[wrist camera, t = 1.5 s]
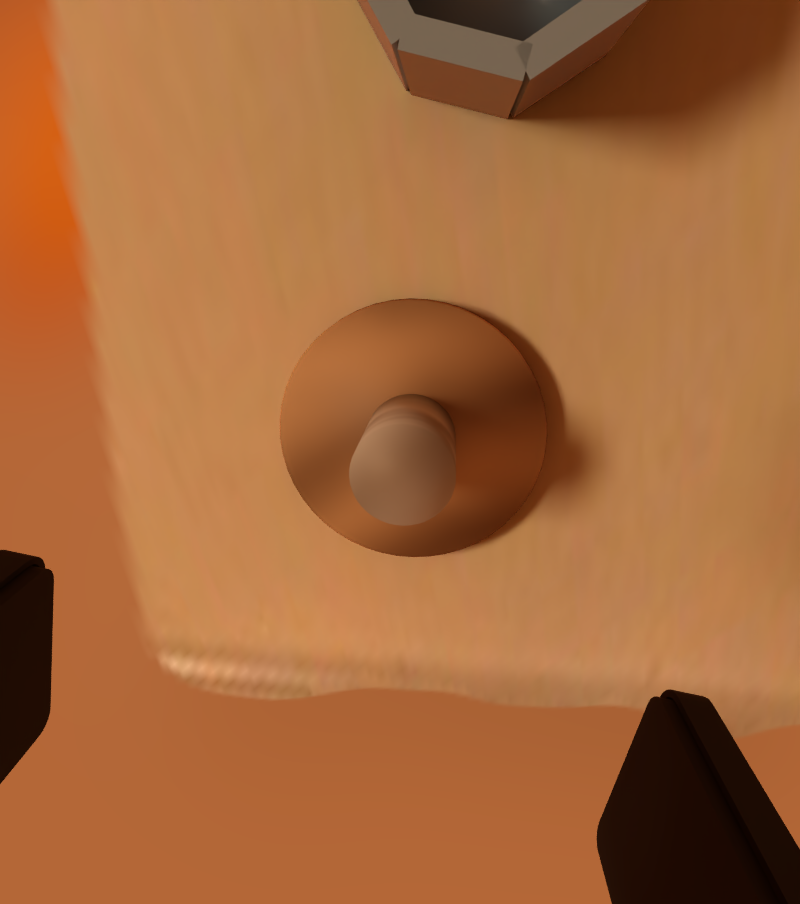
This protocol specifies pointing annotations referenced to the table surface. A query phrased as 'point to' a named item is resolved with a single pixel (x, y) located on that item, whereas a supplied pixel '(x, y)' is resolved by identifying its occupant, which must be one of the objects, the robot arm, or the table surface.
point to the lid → (413, 428)
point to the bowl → (495, 46)
